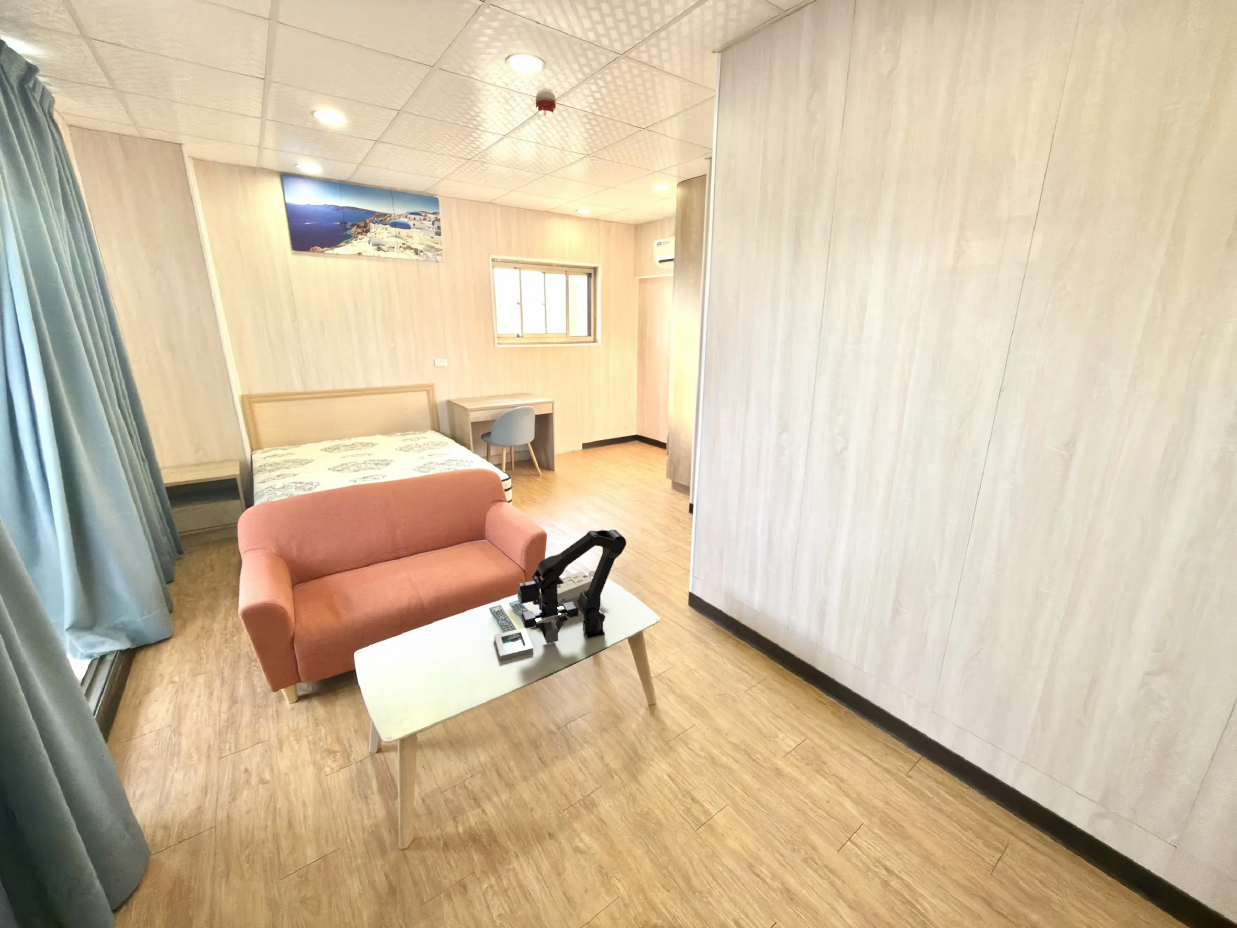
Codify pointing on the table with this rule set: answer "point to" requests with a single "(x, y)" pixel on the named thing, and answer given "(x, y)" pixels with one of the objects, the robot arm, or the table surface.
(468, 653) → the table surface
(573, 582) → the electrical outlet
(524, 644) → the socket
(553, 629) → the block
